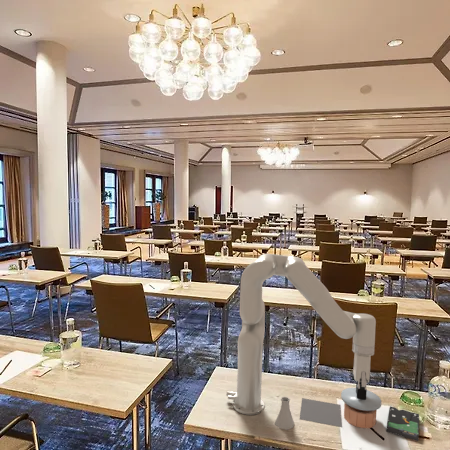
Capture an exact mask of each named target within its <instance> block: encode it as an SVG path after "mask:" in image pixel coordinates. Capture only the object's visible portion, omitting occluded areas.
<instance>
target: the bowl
mask: <svg viewBox="0 0 450 450" xmlns="http://www.w3.org/2000/svg"><path fill="white" fill-rule="evenodd" d="M343 403H344V406H343V419H344V420H345V421H346V422H347V423H348V424H350V425H352V426H354V427H357V428H361V429H371V428H373V427H375V425H377V424H376V423H377V410H378V409H377V410H374V411H365V410H359V409H356V408H353V407H351V406H349V405H347V404H346V403H345V402H344V401H343Z"/></svg>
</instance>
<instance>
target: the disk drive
mask: <svg viewBox="0 0 450 450" xmlns="http://www.w3.org/2000/svg"><path fill="white" fill-rule="evenodd" d="M386 432H387V433H390V434H393V435H397V436H399V437H403V438H406V439H409V440H413V441H415V442H419V440H420V439H419V437H420V414H419V413H416V412H412V411H409V410H405V409H398V408H397V407H395V406H390V405H389V408H388V415H387V422H386Z"/></svg>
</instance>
